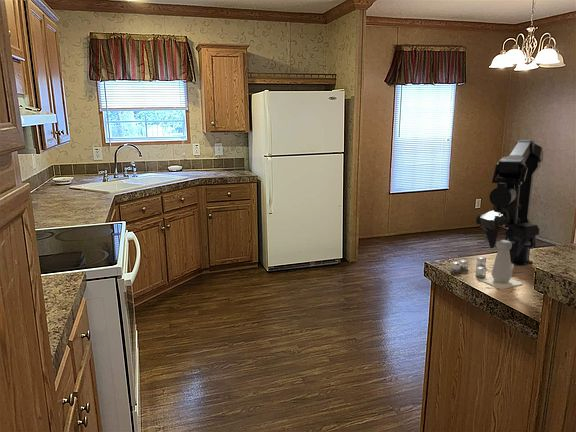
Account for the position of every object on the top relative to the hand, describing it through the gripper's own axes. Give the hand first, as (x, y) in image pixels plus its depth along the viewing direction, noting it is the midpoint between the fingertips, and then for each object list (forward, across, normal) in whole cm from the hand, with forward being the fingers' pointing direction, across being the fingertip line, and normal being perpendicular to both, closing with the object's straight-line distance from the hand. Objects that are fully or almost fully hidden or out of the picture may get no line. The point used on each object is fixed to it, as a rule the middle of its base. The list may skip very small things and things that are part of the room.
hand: (503, 251), depth 139 cm
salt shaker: (+10, 0, 0) cm, 10 cm away
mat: (+10, 0, 0) cm, 10 cm away
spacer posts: (+10, -10, +2) cm, 15 cm away
